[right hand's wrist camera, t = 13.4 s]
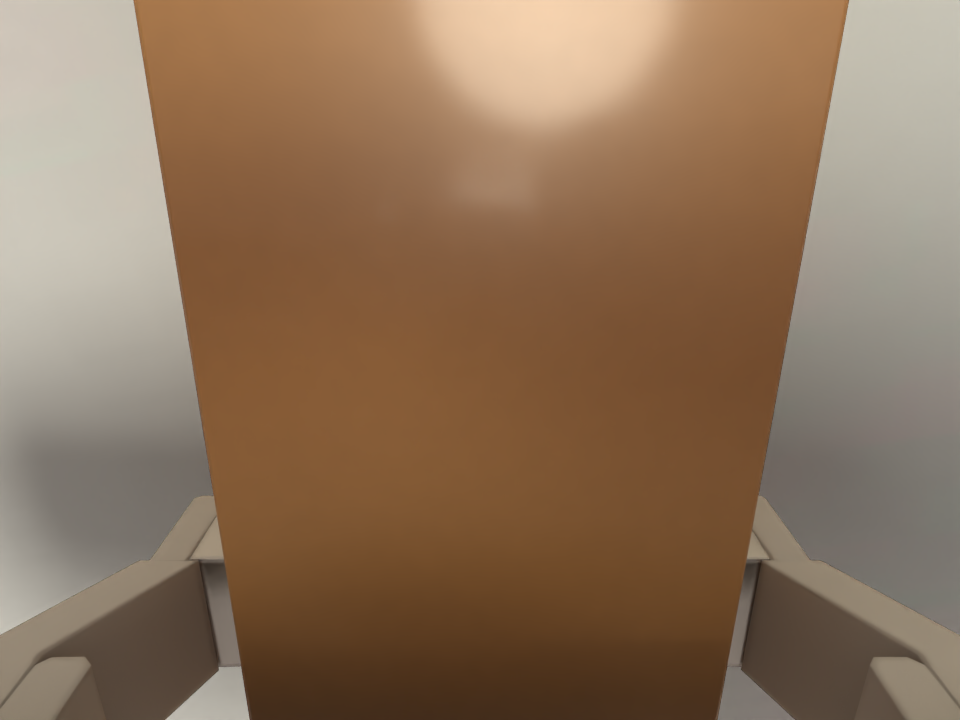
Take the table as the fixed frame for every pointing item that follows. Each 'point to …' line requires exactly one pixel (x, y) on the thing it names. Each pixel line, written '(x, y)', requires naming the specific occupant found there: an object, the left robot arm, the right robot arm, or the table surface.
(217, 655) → the right robot arm
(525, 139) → the bar
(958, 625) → the table surface
